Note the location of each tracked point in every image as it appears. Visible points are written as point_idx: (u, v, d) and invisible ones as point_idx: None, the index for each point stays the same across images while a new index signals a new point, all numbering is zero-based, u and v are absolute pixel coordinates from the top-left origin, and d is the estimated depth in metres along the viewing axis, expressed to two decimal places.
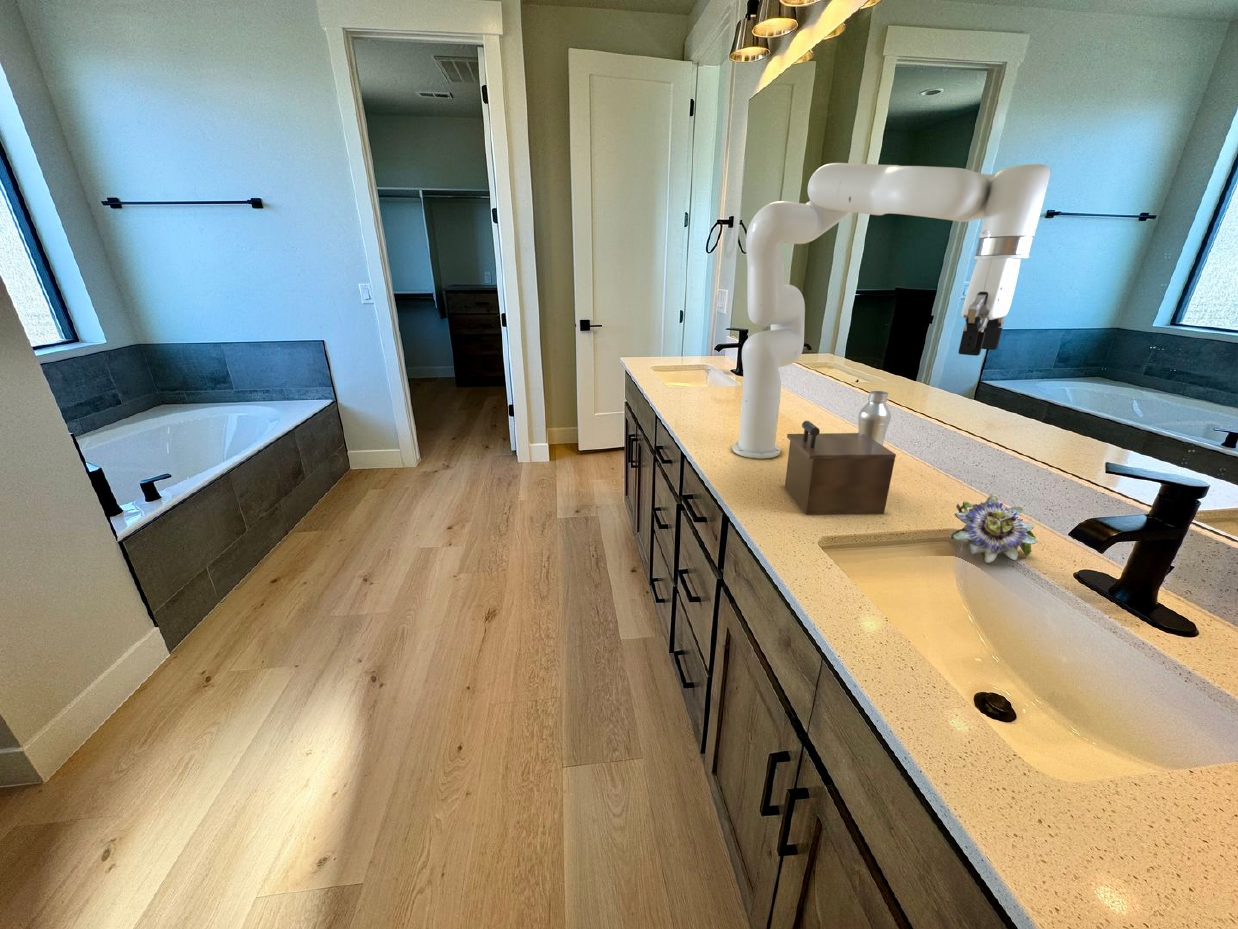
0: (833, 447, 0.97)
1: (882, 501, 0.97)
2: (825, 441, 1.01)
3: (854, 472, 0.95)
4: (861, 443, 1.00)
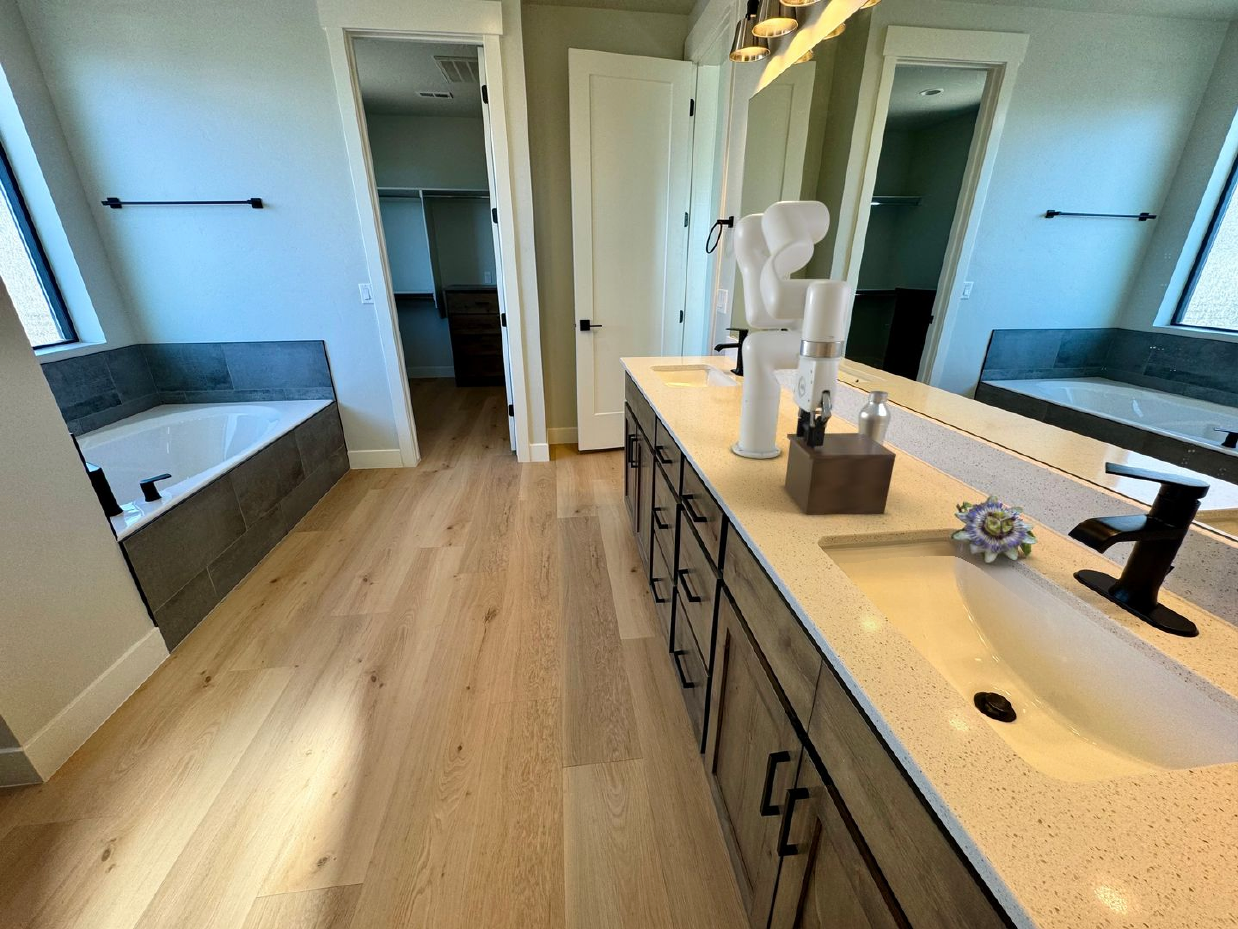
0: (833, 447, 0.97)
1: (882, 501, 0.97)
2: (825, 441, 1.01)
3: (854, 472, 0.95)
4: (861, 443, 1.00)
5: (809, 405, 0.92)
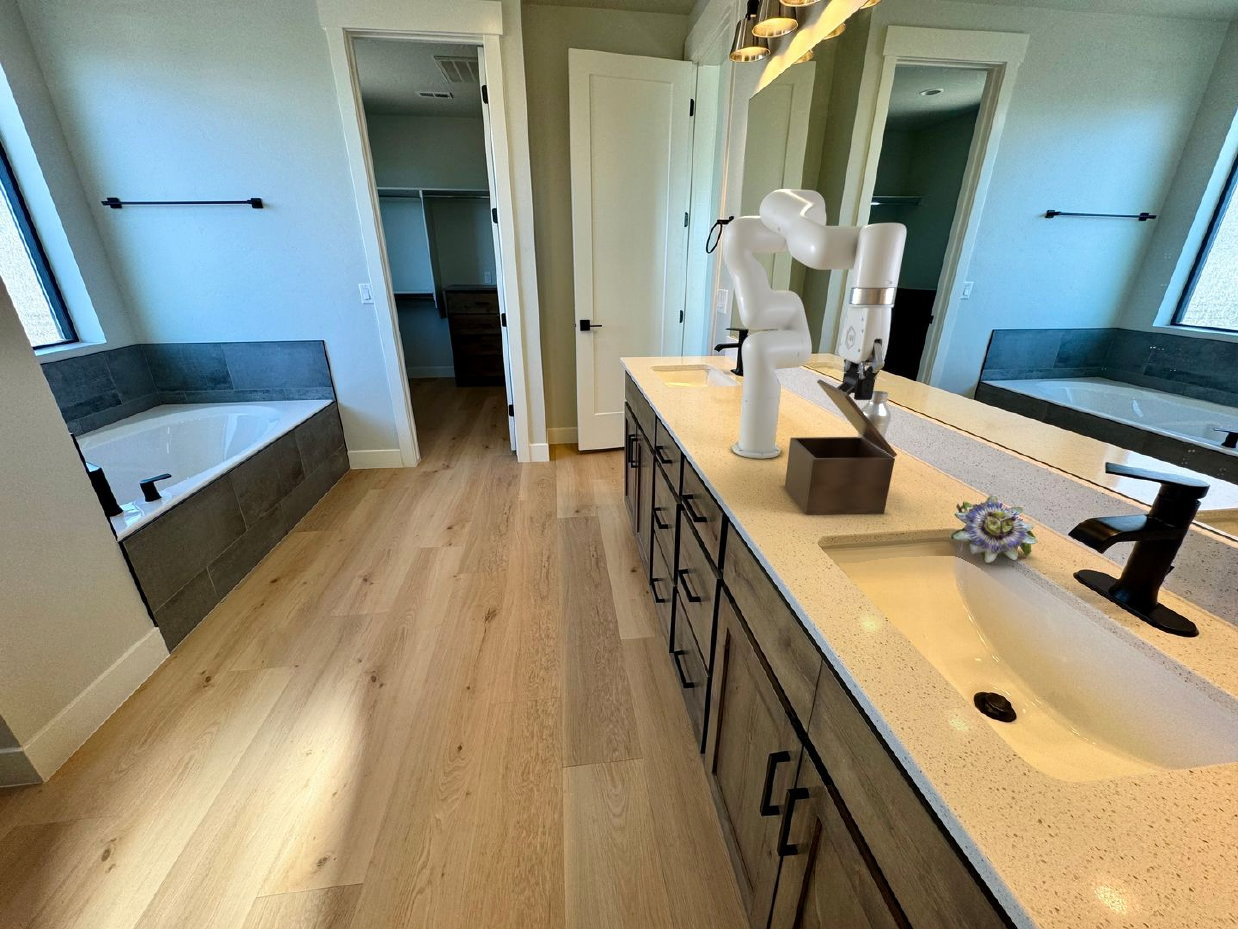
0: None
1: (882, 501, 0.97)
2: None
3: (854, 472, 0.95)
4: None
5: (859, 355, 0.89)
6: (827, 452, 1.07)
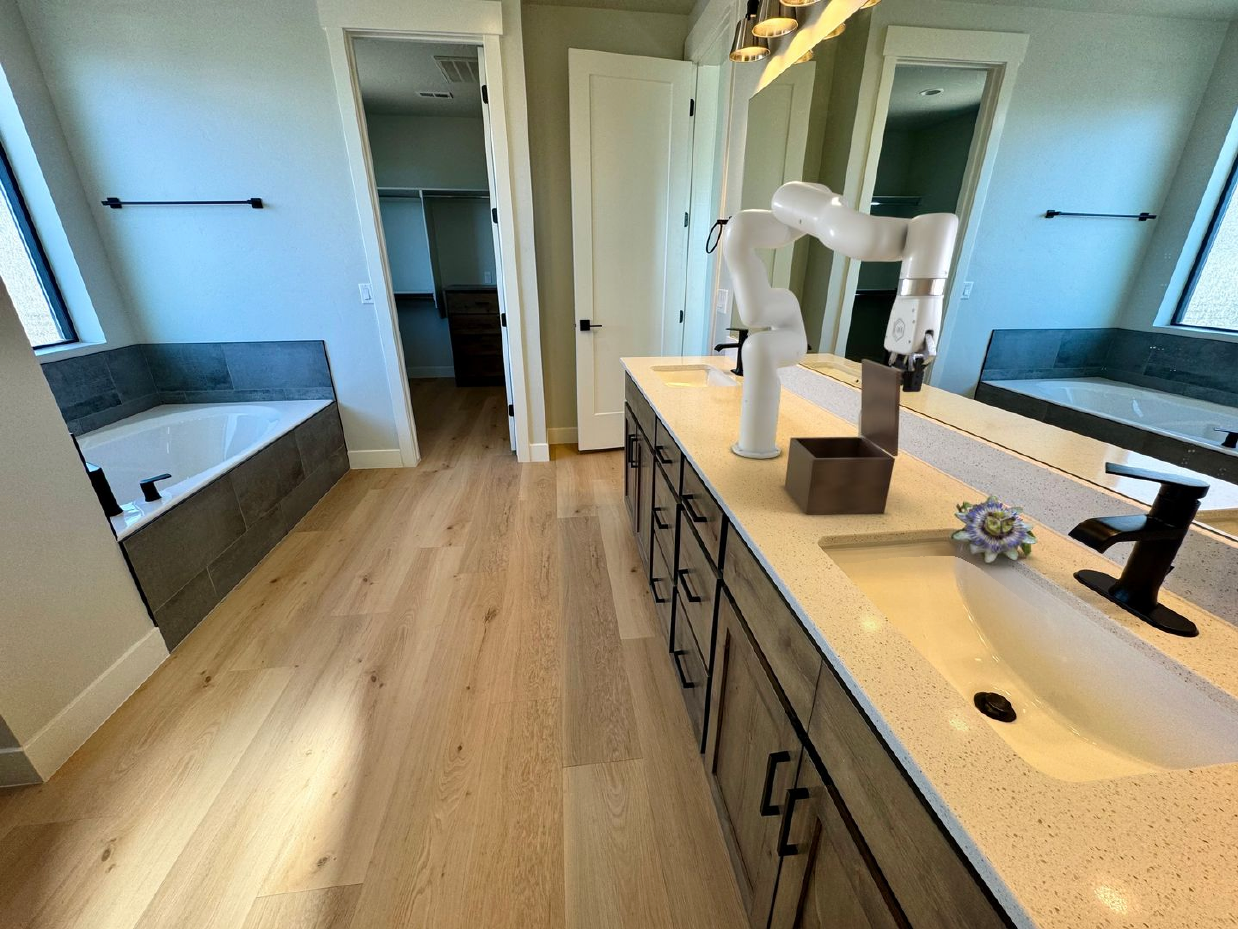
0: None
1: (882, 501, 0.97)
2: None
3: (854, 472, 0.95)
4: None
5: (910, 346, 0.88)
6: (827, 452, 1.07)
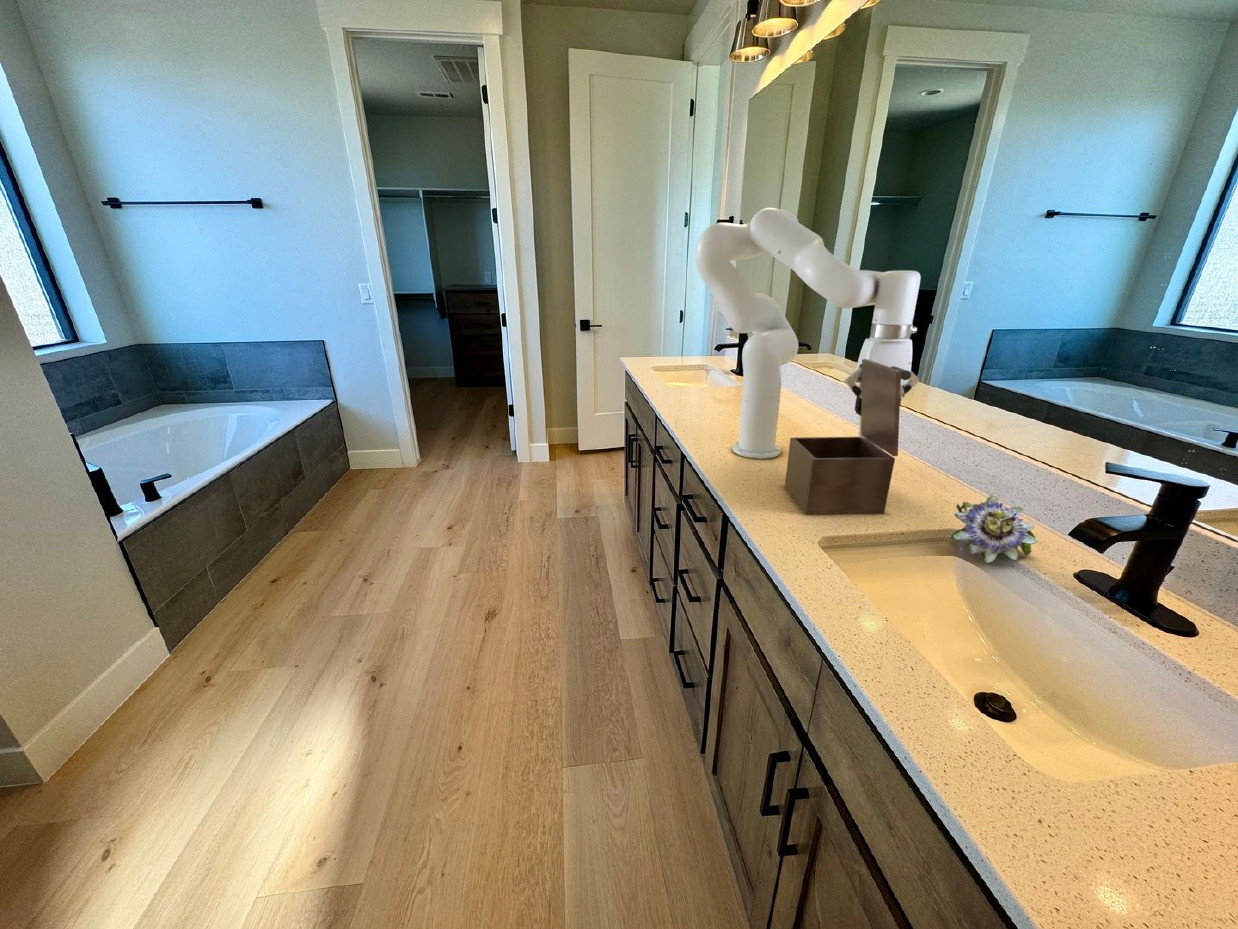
0: None
1: (882, 501, 0.97)
2: None
3: (854, 472, 0.95)
4: None
5: None
6: (827, 452, 1.07)
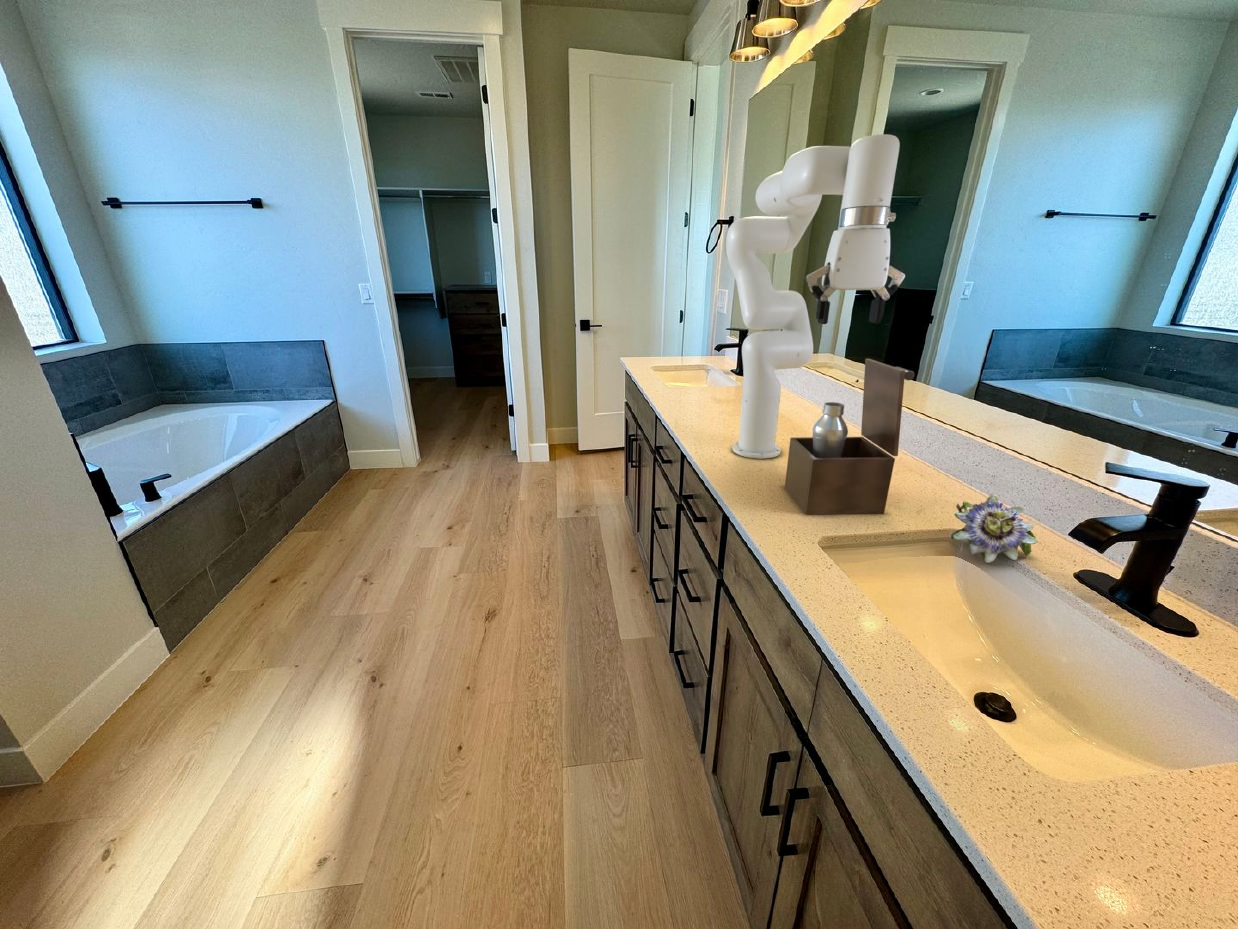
0: None
1: (882, 501, 0.97)
2: None
3: (854, 472, 0.95)
4: None
5: None
6: None
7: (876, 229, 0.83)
